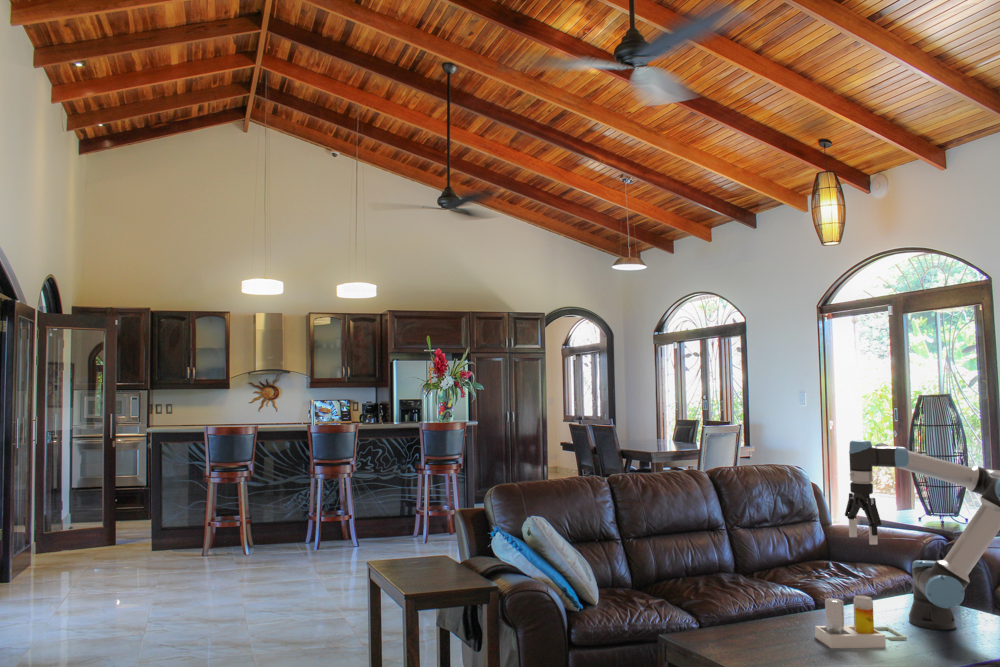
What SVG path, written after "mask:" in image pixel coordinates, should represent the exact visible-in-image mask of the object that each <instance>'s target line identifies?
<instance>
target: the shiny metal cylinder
mask: <svg viewBox="0 0 1000 667" xmlns="http://www.w3.org/2000/svg"><path fill="white" fill-rule="evenodd" d="M824 608H825V609H824V612H825V618H824V619H825V626H826V632H827V633H828V634H830V635H831V634H844V625H845V615H844V614H845V612H844V610H845V608H844V600H842V599H839V598H830V597H829V598H828V597H827V598H825V599H824Z"/></svg>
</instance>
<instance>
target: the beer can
mask: <svg viewBox="0 0 1000 667" xmlns="http://www.w3.org/2000/svg"><path fill="white" fill-rule="evenodd" d="M853 597H854V598H853V625H854V631H856V632H857V633H859V634H874V627H875V626H874V625H875V624H874V623H875V622H874V601H873V599H872V597H871V596H869V595H864V594H860V595H859V594H857V595H854V596H853Z"/></svg>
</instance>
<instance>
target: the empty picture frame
mask: <svg viewBox="0 0 1000 667" xmlns="http://www.w3.org/2000/svg"><path fill="white" fill-rule="evenodd" d="M874 629H875V630H877V631H887V632H890V633H892V634H894V635H895V636H885V639H886V640H888V641H907V638H908V637H907V636H905V635H903V634H901V633H900V632H898V631H897V630H894V629H893V628H891V627H889V626H874Z"/></svg>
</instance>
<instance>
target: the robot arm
mask: <svg viewBox="0 0 1000 667" xmlns="http://www.w3.org/2000/svg"><path fill="white" fill-rule="evenodd" d="M848 454H849V456H848V457H849V478H850V479H849V480H850V481H851V482H850V483H849V486H850V487H849V488H850V492H849V493H848V500H847V504H846V509H845V512H844V516H845V517H847V519H848V537H849V538H857V537H858V524H857V522H858V520H857V519H858V518H857V515H858V513H859V511H860V509H861V510H862V511H864V513H865V516H866V518H867V520H868V523H869V525H868V543H869V545H871V546H872V545H874V546H875V545H878V543H879V542H878V540H879V539H878V538H879V537H878V527H879V526H882V520H881V518H880V513H879V510H878V507H877V503H876V498H875V497H871V496H870V495H872V494H873V493H874V488H873V487H874V485H873V481H874V480H873V478H874V477H873V467H874V468H875V467H879V468H881V467H883V468H897V469H900V470H904V471H906V472H910V473H914V474H917V475H921V476H926V477H929V478H932V479H935V480H938V481H943V482H947V483H950V484H954V485H956V486H961V487H963V488H967V490H968V491H969V492H972V493H976V494H979V495H980V498H979V499H980V502H981V505H980V506H979V508H978V509H977V511H976V513H974V515H973V517H972V518H971V519H970V521H969V522H968V524H967V526H966V527H965V528H964V530H962V532H961V534H960V535H959V537H958V539H957V540H956V541H955V543H954V544H953V545H952V547H951V548H950V550H949V551H948V553H947V554H946V556H945V557H944V558H943V559H939V560H938V559H936V560H925V559H924V560H920V559H917V560H914V561H913V562H912V567H911V570H912V592H913V593H912V594H913V601H912V604H911V607H910V610H909V613H908V622H910V623H911V624H912V625H915V626H917V627H921V628H925V629H930V630H937V631H938V630H939V631H941V630H942V631H946V630H947V631H948V630H954V629H955V628H956V619H955V617H954V613H953V611H952V609H954V608H955V607H958V606H960V605H961V604H962V602H963V601H964V598H965V590H966V588H967V586H968V585H969V584H970V582H971V581H970V577H969V574H970V573H971V572H972V570H973V569H974V567H975V566H976V565H977V563H978V561H979V560H980V559H981V558H982V556H983V554H984V553H985V552H986V550H987V549H988V548H989V546H990V544H991V543H992V541H993V540H994V539H995V537H996V536H997V534H998V533H999V532H1000V469H999V470H998V469H990V468H985V467H980V466H977V465H974V466H972V467H970V466H967V465H963V464H959V463H955V462H953V461H948V460H945V459H940V458H938V457H937V458H936V457H933V456H930V455H926V454H922V453H920V452H919V453H918V452H914V451H910V450H908V449H907V447H904V446H893V445H889V444H886V443H883V442H881V443H880V442H879V443H877V444H874V445H873V444H872V441H870V440H863V439H862V440H861V439H853V440H850V442H849V451H848Z"/></svg>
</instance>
